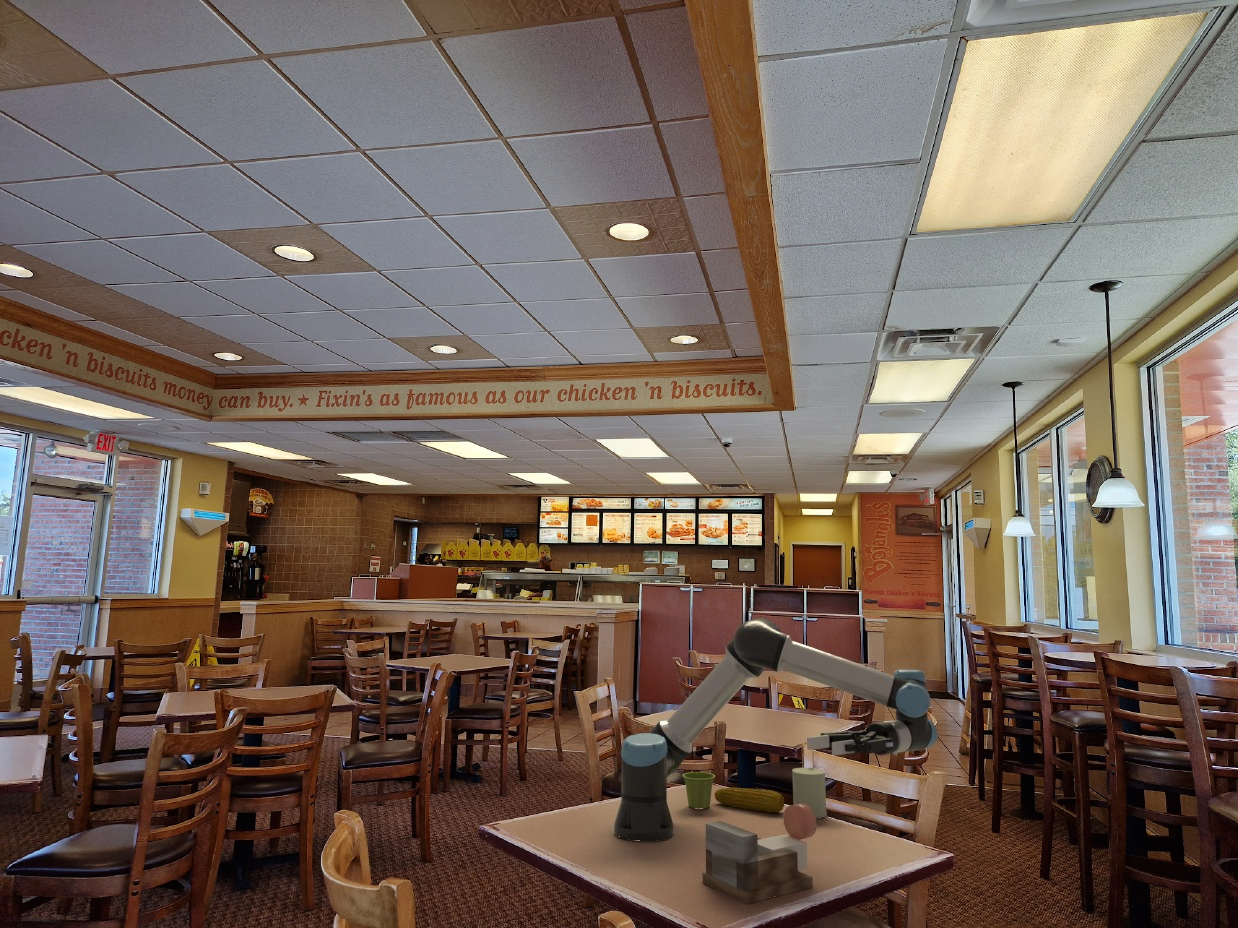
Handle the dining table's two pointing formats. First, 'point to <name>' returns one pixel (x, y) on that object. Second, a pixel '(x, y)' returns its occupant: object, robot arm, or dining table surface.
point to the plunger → (792, 834)
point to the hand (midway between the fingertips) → (820, 745)
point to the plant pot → (699, 788)
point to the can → (810, 789)
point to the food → (751, 799)
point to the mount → (749, 866)
